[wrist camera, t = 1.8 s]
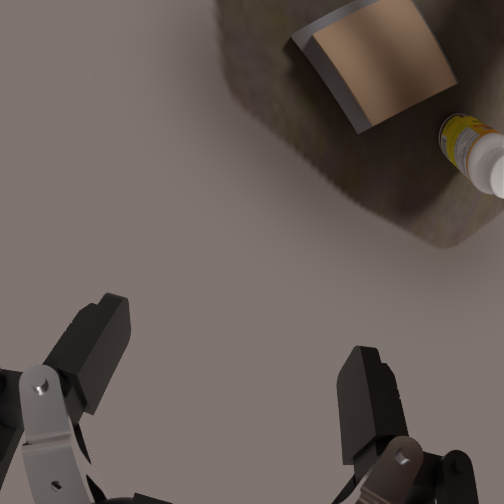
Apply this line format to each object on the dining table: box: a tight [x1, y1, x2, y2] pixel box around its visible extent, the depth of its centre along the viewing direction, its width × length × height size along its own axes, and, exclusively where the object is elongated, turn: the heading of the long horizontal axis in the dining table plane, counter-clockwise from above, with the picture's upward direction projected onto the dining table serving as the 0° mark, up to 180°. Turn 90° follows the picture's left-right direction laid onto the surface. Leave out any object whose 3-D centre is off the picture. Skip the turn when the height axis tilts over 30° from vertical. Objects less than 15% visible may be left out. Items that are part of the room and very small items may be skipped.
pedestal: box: [290, 0, 459, 134], centre depth 21 cm, size 12×11×4 cm
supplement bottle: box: [439, 113, 504, 198], centre depth 22 cm, size 6×6×10 cm
